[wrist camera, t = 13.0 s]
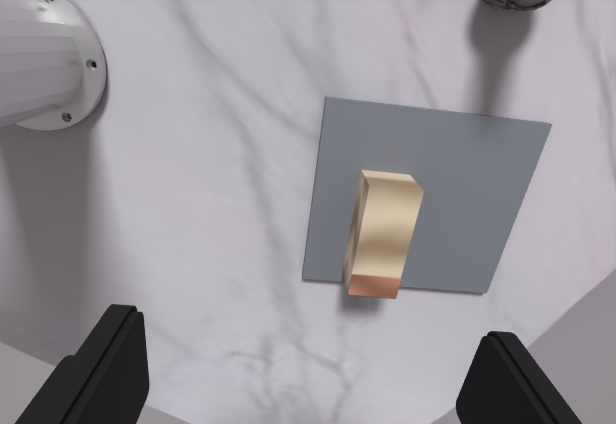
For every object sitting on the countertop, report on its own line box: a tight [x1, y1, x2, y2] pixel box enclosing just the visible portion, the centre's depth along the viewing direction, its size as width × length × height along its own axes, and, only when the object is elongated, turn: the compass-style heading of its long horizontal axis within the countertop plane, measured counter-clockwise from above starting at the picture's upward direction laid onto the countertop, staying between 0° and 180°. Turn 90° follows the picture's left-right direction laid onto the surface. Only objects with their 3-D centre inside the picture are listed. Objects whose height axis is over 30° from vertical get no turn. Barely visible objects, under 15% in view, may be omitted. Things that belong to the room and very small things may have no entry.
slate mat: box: [302, 97, 552, 293], centre depth 39 cm, size 22×20×1 cm
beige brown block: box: [343, 170, 424, 299], centre depth 37 cm, size 12×5×5 cm, turn 173°
